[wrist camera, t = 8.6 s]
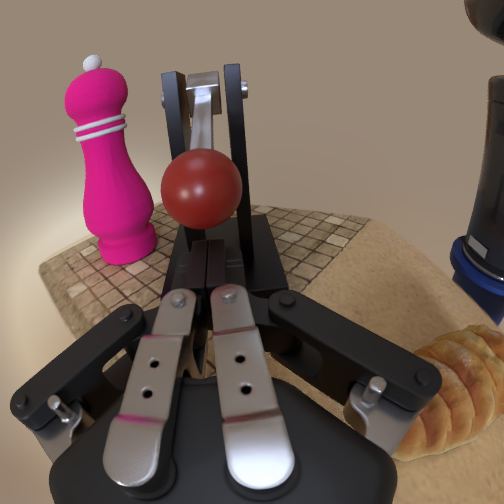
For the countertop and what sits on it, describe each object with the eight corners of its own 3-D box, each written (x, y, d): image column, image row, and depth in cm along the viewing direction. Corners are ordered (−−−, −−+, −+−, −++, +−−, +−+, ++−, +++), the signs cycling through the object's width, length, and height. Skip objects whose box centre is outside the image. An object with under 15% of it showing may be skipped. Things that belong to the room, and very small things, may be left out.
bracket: (288, 299, 20) (283, 55, 12) (164, 311, 20) (110, 79, 12) (266, 224, 31) (257, 70, 22) (181, 233, 30) (158, 82, 22)
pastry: (388, 498, 8) (424, 480, 6) (336, 395, 13) (349, 353, 11) (507, 408, 9) (542, 369, 7) (453, 340, 15) (475, 297, 13)
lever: (247, 240, 13) (244, 182, 10) (169, 249, 13) (145, 194, 10) (230, 103, 20) (227, 62, 17) (184, 108, 20) (177, 68, 17)
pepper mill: (175, 235, 30) (146, 43, 19) (132, 274, 24) (84, 43, 14) (127, 229, 32) (96, 63, 22) (86, 261, 27) (40, 72, 16)
